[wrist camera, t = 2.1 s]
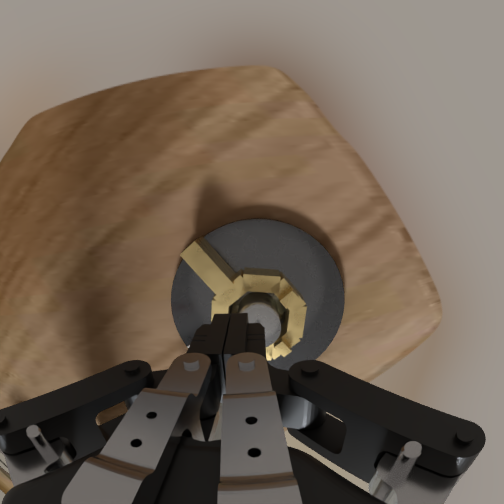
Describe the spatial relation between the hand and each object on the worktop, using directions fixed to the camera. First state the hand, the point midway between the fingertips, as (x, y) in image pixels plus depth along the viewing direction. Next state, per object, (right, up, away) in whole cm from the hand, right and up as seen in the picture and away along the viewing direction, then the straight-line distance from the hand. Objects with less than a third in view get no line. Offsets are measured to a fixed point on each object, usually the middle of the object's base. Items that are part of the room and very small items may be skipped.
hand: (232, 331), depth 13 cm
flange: (+2, -3, +24) cm, 24 cm away
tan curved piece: (0, -1, +21) cm, 21 cm away
